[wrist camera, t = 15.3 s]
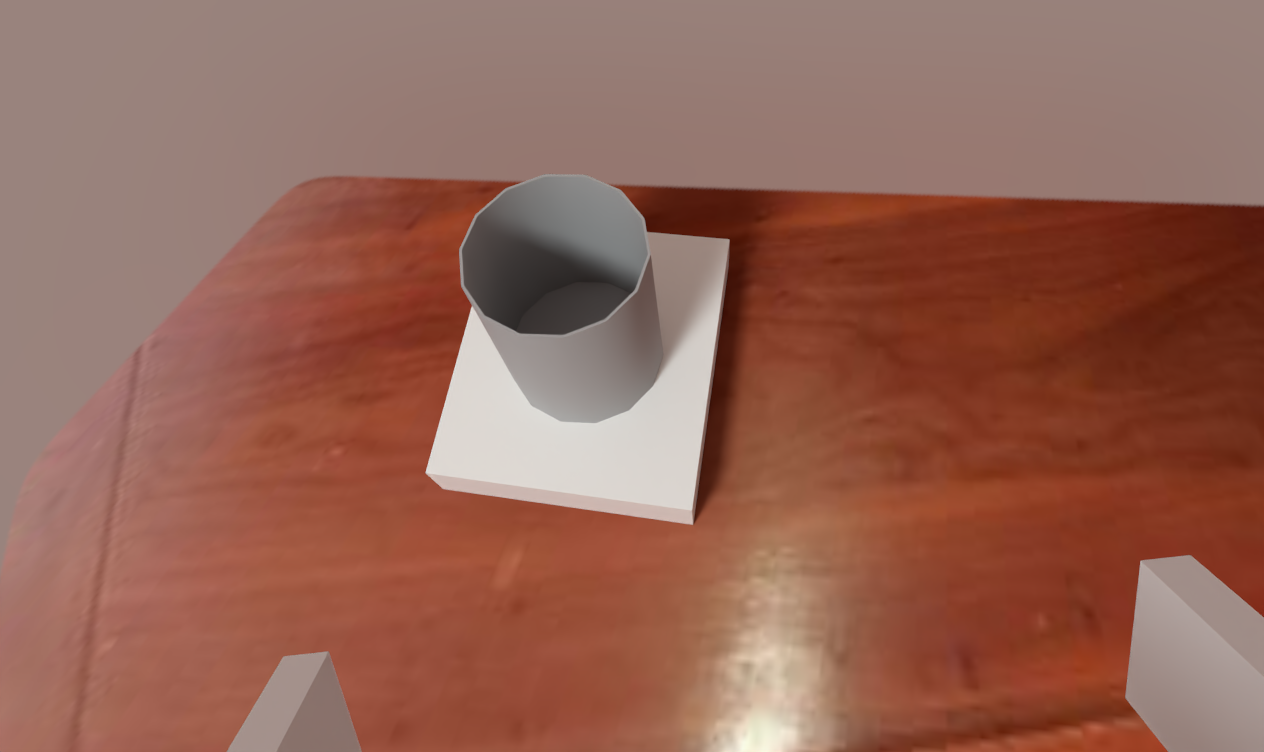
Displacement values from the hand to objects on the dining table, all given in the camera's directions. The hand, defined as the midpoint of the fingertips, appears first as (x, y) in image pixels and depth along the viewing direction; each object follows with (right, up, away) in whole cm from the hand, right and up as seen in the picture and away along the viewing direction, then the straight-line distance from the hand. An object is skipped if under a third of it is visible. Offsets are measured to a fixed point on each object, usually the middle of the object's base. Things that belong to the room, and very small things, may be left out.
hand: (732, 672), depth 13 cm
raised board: (-4, +5, +33) cm, 34 cm away
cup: (-4, +6, +31) cm, 31 cm away
